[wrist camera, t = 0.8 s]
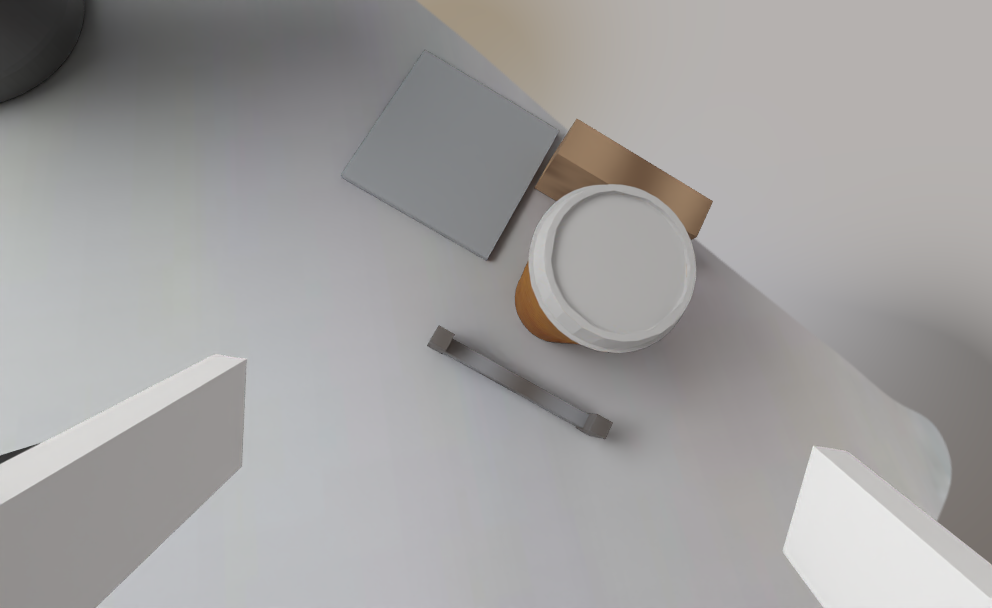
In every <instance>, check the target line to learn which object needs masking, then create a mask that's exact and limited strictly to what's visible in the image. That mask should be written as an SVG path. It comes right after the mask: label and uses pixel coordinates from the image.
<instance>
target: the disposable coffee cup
mask: <svg viewBox="0 0 992 608" xmlns="http://www.w3.org/2000/svg"><path fill="white" fill-rule="evenodd" d="M695 280H696V260H695V253H694V249H693V246H692V242H691V239H690V237H689V235H688V233H687V231H686V229H685V227H684V225H683V224H682V222H681V221H680V220H679V218H678V217H677V215H676V214H675V213H674V212H673V211H672V210H671V209H670V208H669V207H668V206H667V205H666V204H664V203H663V202H662V201H661V200H659V199H658V198H657V197H655V196H653V195H651V194H649V193H647V192H646V191H644V190H641V189H638V188H635V187H631V186H626V185H616V184H608V185H592V186H587V187H583V188H580V189H577V190H574V191H572V192H570V193H568V194H566V195H564V196H563V197H562V198H560V199H559V200H558V201H556V202H555V203H554V204H553V205H552V206H551V207H550V208H549V209H548V210H547V211H546V213H545V214H544V215H543V217H542V219H541V220H540V222H539V224H538V225H537V227H536V229H535V232H534V235H533V238H532V241H531V245H530V249H529V260H528V263H527V264H526V267H525V269H524V272H523V274H522V276H521V278H520V280H519V282H518V285H517V288H516V293H515V306H516V310H517V313H518V316H519V318H520V319H521V321H522V323H523V324H524V326H525V327H526V328H527V329H528V330H529V331H530V332H531V333H532V334H533V335H535V336H537V337H538V338H540V339H543V340H545V341H549V342H558V343H573V344H580V345H582V346H585V347H588V348H591V349H593V350H596V351H602V352H612V353H624V352H633V351H637V350H640V349H643V348H646V347H649V346H650V345H652V344H654V343H656V342H657V341H659V340H661V339H662V338H663V337H664V336H665V335H667V334H668V333H669V332H670V331H671V330H672V329H673V327H674V326H675V325H676V324H677V322H678V321H679V320H680V318H681V316H682V315H683V313H684V311H685V309H686V307H687V306H688V304H689V302H690V299H691V297H692V294H693V291H694V286H695Z"/></svg>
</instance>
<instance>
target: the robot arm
mask: <svg viewBox="0 0 992 608" xmlns="http://www.w3.org/2000/svg"><path fill="white" fill-rule="evenodd" d="M83 19H84V0H0V102H3V101H6V100H9V99H11V98H14V97H16V96H19V95H21V94H23V93H25V92H27V91H29V90H30V89H32V88H34V87H35V86H37V85H38V84H40V83H41V82H43V81H44V80H45V79H47V78H48V77H49V76H50V75H52V74H53V73H54V72H55V71H56V70H57V69H58V68H59V67H60V66H61V65H62V64H63V62H64V61H65V60H66V59H67V57H68V56H69V54H70V53H71V51H72V50H73V48H74V46H75V44H76V42H77V40H78V38H79V35H80V32H81V29H82V25H83ZM246 363H247V359H244V358H238V357H231V356H224V355H218V354H213V355H211V356H209V357H207V358H206V359H204V360H202V361H200V362H198V363H196V364H194V365H192V366H190V367H188V368H186V369H184V370H182V371H180V372H178V373H176V374H174V375H173V376H171V377H169V378H167V379H165V380H163V381H161V382H159V383H157V384H155V385H153V386H151V387H149V388H147V389H145V390H143V391H141V392H139V393H138V394H136V395H134V396H132V397H130V398H128V399H126V400H124V401H122V402H120V403H118V404H116V405H114V406H112V407H110V408H108V409H106V410H104V411H103V412H101V413H99V414H97V415H95V416H93V417H91V418H89V419H87V420H85V421H83V422H81V423H79V424H77V425H75V426H73V427H71V428H69V429H68V430H66V431H64V432H62V433H60V434H58V435H56V436H54V437H52V438H50V439H48V440H46V441H44V442H42V443H39V444H36V445H33V446H30V447H26V448H23V449H20V450H17V451H13V452H10V453H7V454H4V455H1V456H0V608H96V607H97V606H98V605H99V604H100V603H101V602H102V601H103V600H104V599H105V598H106V597H107V596H108V595H109V594H110V593H111V592H112V591H113V590H114V589H115V588H116V587H117V586H118V585H119V584H121V583H122V582H123V581H124V580H125V579H126V578H127V577H128V576H129V575H130V574H131V573H132V572H133V571H134V570H135V569H136V568H137V567H138V566H139V565H140V564H141V563H142V562H143V561H144V560H145V559H146V558H147V557H148V556H150V555H151V554H152V553H153V552H154V551H155V550H156V549H157V548H158V547H159V546H160V545H161V544H162V543H163V542H164V541H165V540H166V539H167V538H168V537H169V536H170V535H171V534H172V533H173V532H174V531H175V530H176V529H178V528H179V527H180V526H181V525H182V524H183V523H184V522H185V521H186V520H187V519H188V518H189V517H190V516H191V515H192V514H193V513H194V512H195V511H196V510H197V509H198V508H199V507H200V506H201V505H202V504H203V503H204V502H206V501H207V500H208V499H209V498H210V497H211V496H212V495H213V494H214V493H215V492H216V491H217V490H218V489H219V488H220V487H221V486H222V485H223V484H224V483H225V482H226V481H227V480H228V479H229V478H230V477H231V476H232V475H234V474H235V473H236V472H237V471H238V470H239V469H240V468H241V467H242V452H243V430H244V408H245V385H246ZM783 553H784V554H785V556H786V557H787V558H788V560H789V561H790V562H791V564H792V565H793V567H794V568H795V569H796V571H797V572H798V573H799V575H800V576H801V578H802V579H803V580H804V582H805V583H806V584H807V586H808V587H809V589H810V590H811V591H812V593H813V594H814V595H815V597H816V598H817V599H818V601H819V602H820V604H821V605H822V606H823V608H992V565H991V564H990V563H989V562H988V561H986V560H985V559H984V558H982V557H981V556H980V555H978V554H977V553H976V552H975V551H973V550H972V549H971V548H970V547H969V546H967V545H966V544H965V543H963V542H962V541H961V540H960V539H958V538H957V537H956V536H955V535H953V534H952V533H951V532H949V531H948V530H947V529H946V528H944V527H943V526H942V525H941V524H939V523H938V522H937V521H936V520H934V519H933V518H932V517H930V516H929V515H928V514H927V513H925V512H924V511H923V510H922V509H920V508H919V507H918V506H917V505H915V504H914V503H913V502H911V501H910V500H909V499H908V498H906V497H905V496H904V495H903V494H901V493H900V492H899V491H897V490H896V489H895V488H894V487H892V486H891V485H890V484H889V483H887V482H886V481H885V480H884V479H882V478H881V477H880V476H878V475H877V474H876V473H875V472H873V471H872V470H871V469H870V468H868V467H867V466H866V465H865V464H863V463H862V462H861V461H859V460H858V459H857V458H856V457H854V456H853V455H852V454H851V453H849V452H848V451H845V450H839V449H832V448H826V447H819V446H813V448H812V452H811V455H810V459H809V462H808V465H807V469H806V472H805V476H804V479H803V483H802V486H801V489H800V493H799V496H798V500H797V503H796V507H795V510H794V514H793V517H792V520H791V524H790V527H789V531H788V534H787V538H786V541H785V545H784V548H783Z"/></svg>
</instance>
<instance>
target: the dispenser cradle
mask: <svg viewBox="0 0 992 608" xmlns="http://www.w3.org/2000/svg"><path fill="white" fill-rule="evenodd" d="M608 184H616V185H626V186H631V187H635V188H638V189H641V190H644V191H646V192H647V193H649V194H651V195H653V196H655V197H657V198H658V199H659V200H661V201H662V202H663V203H664V204H666V205H667V206H668V207H669V208H670V209H671V210H672V211H673V212H674V213H675V214H676V215H677V217H678V218H679V220H680V221H681V222H682V224H683V225H684V227H685V229H686V231H687V233H688V235H689V237H690V239H691V240H692V239H694V238H696V237H697V235H698V233H699V231H700V229H701V226H702V224H703V222H704V220H705V218H706V215H707V213H708V211H709V209H710V207H711V204H712V202H713V201H712V200H710V199H708V198H706V197H705V196H703V195H702V194H700V193H698V192H697V191H695V190H693V189H692V188H690V187H689V186H687V185H685V184H684V183H682V182H680V181H679V180H677V179H675V178H674V177H672V176H671V175H669V174H667V173H666V172H664V171H662V170H661V169H659V168H657V167H656V166H654V165H652V164H651V163H649V162H648V161H646V160H644V159H643V158H641V157H639V156H638V155H636V154H634V153H633V152H631V151H629V150H628V149H626V148H624V147H623V146H621V145H620V144H618V143H616V142H614V141H613V140H611V139H610V138H608V137H606V136H605V135H603V134H601V133H600V132H598V131H597V130H595V129H593V128H591V127H590V126H588V125H587V124H585V123H583V122H582V121H580V120H578V119H576V121H575V122H574V124H573V125H572V127H571V128H570V130H569V131H568V133H567V134H566V136H565V137H564V139H563V141H562V142H561V144H560V145H559V147H558V148H557V150H556V151H555V153H554V154H553V156H552V157H551V159H550V161H549V163H548V165H547V166H546V168H545V170H544V172H543V174H542V175H541V177H540V179H539V181H538V183H537V184H536V186H535V189H537V190H538V191H540V192H542V193H543V194H545V195H547V196H549V197H550V198H552V199H554V200H555V201H558V200H559V199H560V198H562V197H563V196H564V195H566V194H568V193H570V192H572V191H574V190H577V189H580V188H583V187H587V186H592V185H608ZM454 335H455V334H453V333H451V332H450V331H448V330H446V329H444V328H443V327H441V326H438V328H437V329H436V331H435V333H434V335H433V336H432V338H431V340H430V342H429V343H428V345H427V346H429V347H430V348H432V349H434V350H436V351H438V352H439V353H441V354H443V353H444V354H446V355H448V356H450V357H451V358H453V359H455V360H457V361H459V362H460V363H462V364H464V365H466V366H468V367H469V368H471V369H473V370H475V371H477V372H478V373H480V374H482V375H484V376H486V377H487V378H489V379H491V380H493V381H495V382H496V383H498V384H500V385H502V386H504V387H505V388H507V389H509V390H511V391H513V392H514V393H516V394H518V395H520V396H522V397H524V398H525V399H527V400H529V401H531V402H533V403H534V404H536V405H538V406H540V407H542V408H543V409H545V410H547V411H549V412H551V413H552V414H554V415H556V416H558V417H560V418H561V419H563V420H565V421H567V422H569V423H570V424H572V425H574V426H576V428H577V429H578V430H580V431H582V432H584V433H586V434H587V435H589V436H593V437H598V438H603V439H606V437H607V434H608V432H609V430H610V428H611V426H612V423H613V422H611V421H609V420H607V419H605V418H604V417H602V416H600V415H598V414H590V413H585V412H583V411H581V410H580V409H578V408H576V407H574V406H573V405H571V404H569V403H567V402H565V401H564V400H562V399H560V398H558V397H556V396H555V395H553V394H551V393H549V392H547V391H546V390H544V389H542V388H540V387H538V386H537V385H535V384H533V383H531V382H529V381H528V380H526V379H524V378H522V377H521V376H519V375H517V374H515V373H513V372H512V371H510V370H508V369H506V368H504V367H503V366H501V365H499V364H497V363H495V362H494V361H492V360H490V359H488V358H486V357H485V356H483V355H481V354H479V353H478V352H476V351H474V350H472V349H470V348H469V347H467V346H465V345H463V344H461V343H460V342H458V341H456V340H454V339H453V337H454Z"/></svg>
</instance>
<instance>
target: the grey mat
mask: <svg viewBox="0 0 992 608" xmlns="http://www.w3.org/2000/svg"><path fill="white" fill-rule="evenodd" d="M558 132H559V130H557V129H556V128H554V127H552V126H551V125H549V124H547V123H546V122H544V121H542V120H541V119H539V118H537V117H536V116H534V115H533V114H531V113H529V112H528V111H526V110H524V109H523V108H521V107H519V106H518V105H516V104H514V103H513V102H511V101H509V100H508V99H506V98H504V97H503V96H501V95H499V94H498V93H496V92H494V91H493V90H491V89H490V88H488V87H486V86H485V85H483V84H481V83H480V82H478V81H476V80H475V79H473V78H471V77H470V76H468V75H466V74H465V73H463V72H461V71H460V70H458V69H456V68H455V67H453V66H451V65H450V64H448V63H446V62H445V61H443V60H442V59H440V58H438V57H437V56H435V55H433V54H432V53H430V52H428V51H427V50H424V51H423V53H422V54H421V56H420V57H419V59H418V60H417V62H416V63H415V65H414V66H413V68H412V69H411V71H410V72H409V74H408V75H407V77H406V78H405V80H404V81H403V83H402V84H401V86H400V87H399V89H398V90H397V92H396V93H395V94H394V96H393V97H392V99H391V100H390V102H389V103H388V105H387V106H386V108H385V109H384V111H383V112H382V114H381V115H380V117H379V118H378V120H377V121H376V123H375V124H374V126H373V127H372V129H371V130H370V132H369V133H368V135H367V136H366V138H365V139H364V141H363V142H362V144H361V145H360V147H359V148H358V150H357V151H356V153H355V154H354V156H353V157H352V159H351V160H350V162H349V163H348V165H347V166H346V168H345V169H344V171H343V172H342V174H341V176H342V178H343V179H345V180H347V181H349V182H350V183H352V184H354V185H356V186H357V187H359V188H361V189H363V190H364V191H366V192H368V193H370V194H371V195H373V196H375V197H376V198H378V199H380V200H382V201H383V202H385V203H387V204H389V205H390V206H392V207H394V208H396V209H397V210H399V211H401V212H403V213H404V214H406V215H408V216H410V217H411V218H413V219H415V220H417V221H418V222H420V223H422V224H423V225H425V226H427V227H429V228H430V229H432V230H434V231H436V232H437V233H439V234H441V235H443V236H444V237H446V238H448V239H450V240H451V241H453V242H455V243H457V244H458V245H460V246H462V247H464V248H465V249H467V250H469V251H470V252H472V253H474V254H476V255H477V256H479V257H481V258H483V259H484V260H487V259H488V257H489V255H490V254H491V252H492V250H493V248H494V246H495V245H496V243H497V241H498V239H499V237H500V236H501V234H502V232H503V230H504V229H505V227H506V225H507V223H508V221H509V220H510V218H511V216H512V214H513V212H514V211H515V209H516V207H517V205H518V204H519V202H520V200H521V198H522V196H523V195H524V193H525V191H526V189H527V188H528V186H529V184H530V182H531V180H532V179H533V177H534V175H535V173H536V171H537V170H538V168H539V166H540V164H541V163H542V161H543V159H544V157H545V155H546V154H547V152H548V150H549V148H550V147H551V145H552V143H553V141H554V139H555V138H556V136H557V134H558Z"/></svg>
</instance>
